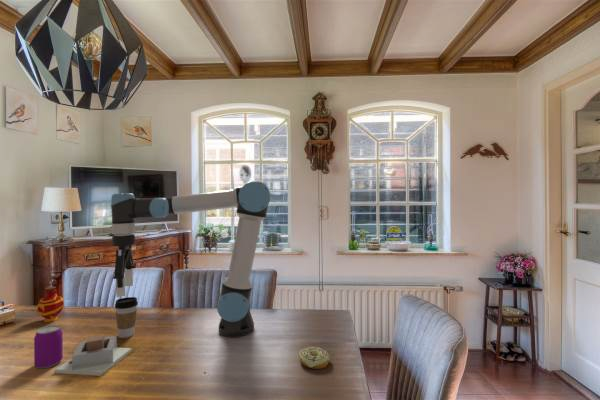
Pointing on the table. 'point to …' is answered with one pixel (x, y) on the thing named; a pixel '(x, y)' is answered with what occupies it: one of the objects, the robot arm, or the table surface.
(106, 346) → the square frame
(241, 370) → the table surface
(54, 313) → the potion bottle
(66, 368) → the post board
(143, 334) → the table surface
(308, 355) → the decorated donut
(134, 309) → the coffee cup
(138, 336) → the table surface
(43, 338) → the beverage can
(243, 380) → the table surface
